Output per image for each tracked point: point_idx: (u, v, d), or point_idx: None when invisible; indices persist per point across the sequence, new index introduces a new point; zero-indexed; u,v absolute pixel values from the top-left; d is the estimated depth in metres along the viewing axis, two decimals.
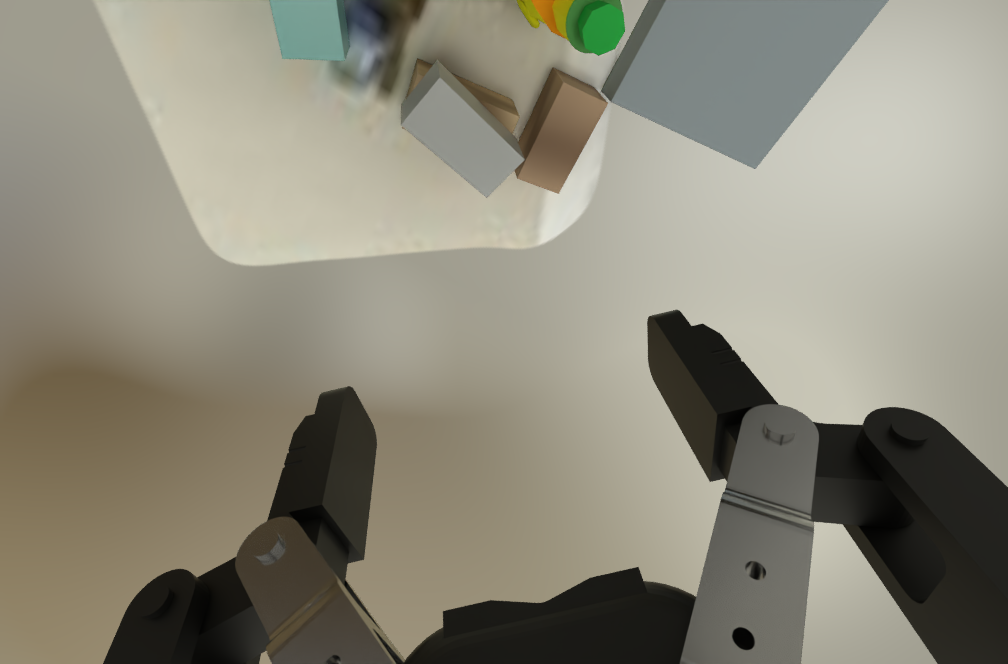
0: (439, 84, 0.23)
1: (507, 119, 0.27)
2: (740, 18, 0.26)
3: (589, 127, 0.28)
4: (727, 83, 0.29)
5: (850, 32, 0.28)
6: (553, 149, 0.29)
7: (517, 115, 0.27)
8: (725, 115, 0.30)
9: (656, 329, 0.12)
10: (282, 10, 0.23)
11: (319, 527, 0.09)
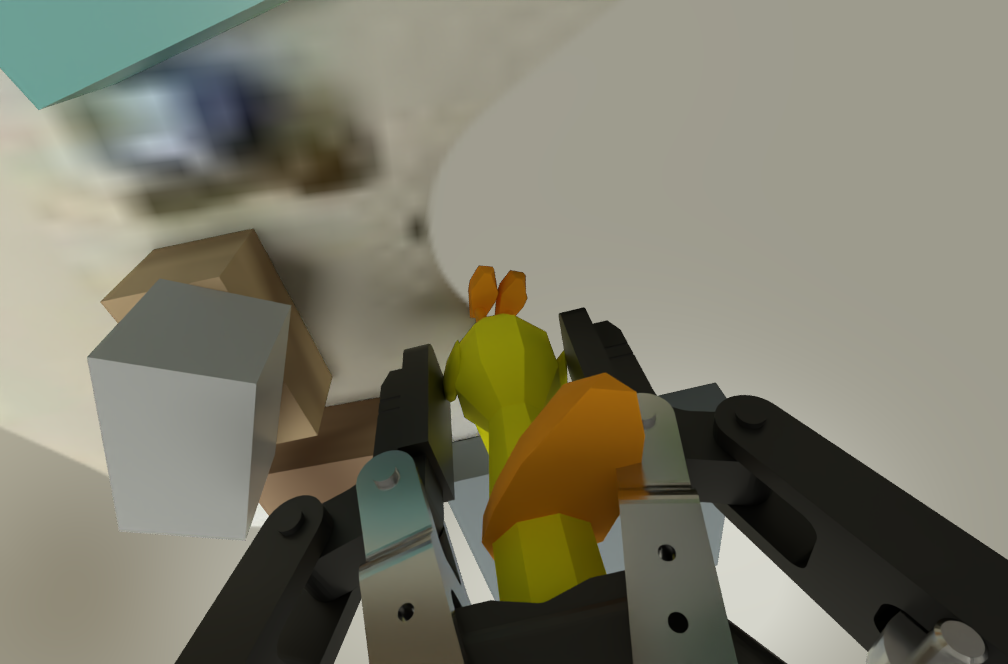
0: (241, 387, 0.10)
1: (298, 425, 0.15)
2: None
3: None
4: None
5: None
6: (327, 488, 0.17)
7: (316, 430, 0.15)
8: None
9: (563, 325, 0.13)
10: None
11: (425, 462, 0.10)
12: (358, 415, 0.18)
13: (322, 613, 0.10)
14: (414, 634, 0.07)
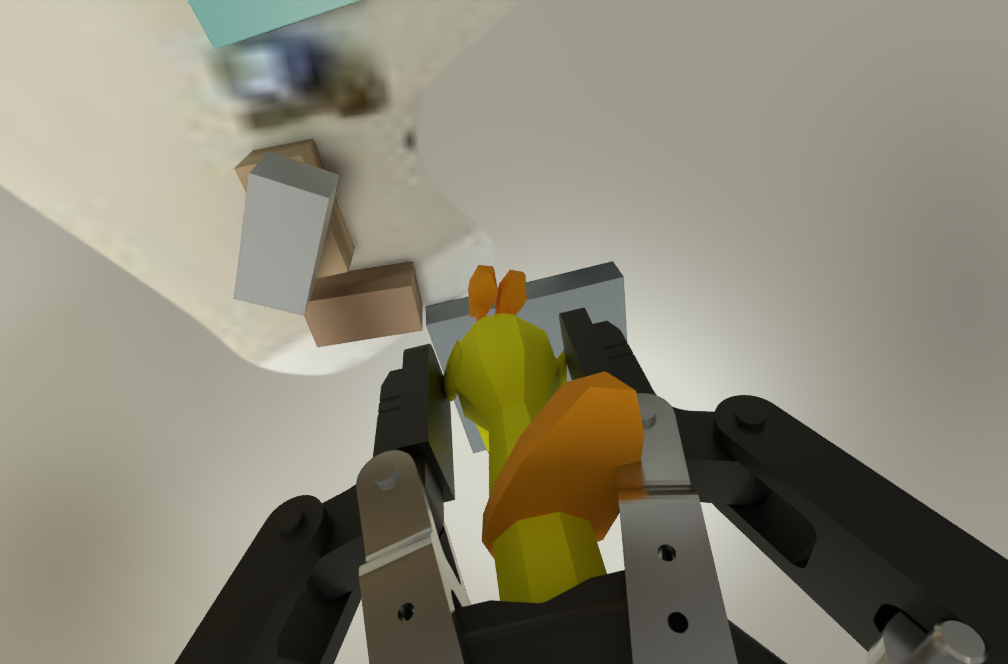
0: (321, 200, 0.20)
1: (336, 263, 0.24)
2: None
3: (393, 330, 0.27)
4: None
5: None
6: (352, 315, 0.26)
7: (347, 268, 0.25)
8: None
9: (563, 325, 0.13)
10: None
11: (425, 462, 0.10)
12: (372, 273, 0.27)
13: (322, 613, 0.10)
14: (414, 634, 0.07)
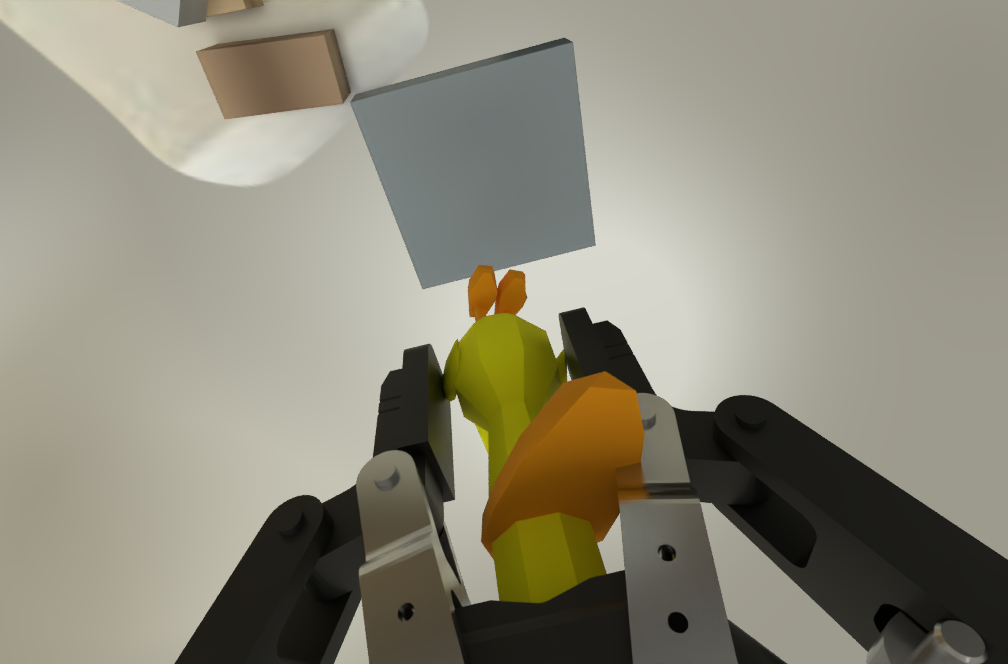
0: None
1: None
2: (487, 155, 0.28)
3: (310, 101, 0.24)
4: (448, 195, 0.29)
5: (541, 248, 0.32)
6: (260, 75, 0.23)
7: (245, 5, 0.22)
8: (430, 219, 0.30)
9: (563, 325, 0.13)
10: None
11: (425, 462, 0.10)
12: (286, 36, 0.24)
13: (321, 613, 0.10)
14: (414, 634, 0.07)
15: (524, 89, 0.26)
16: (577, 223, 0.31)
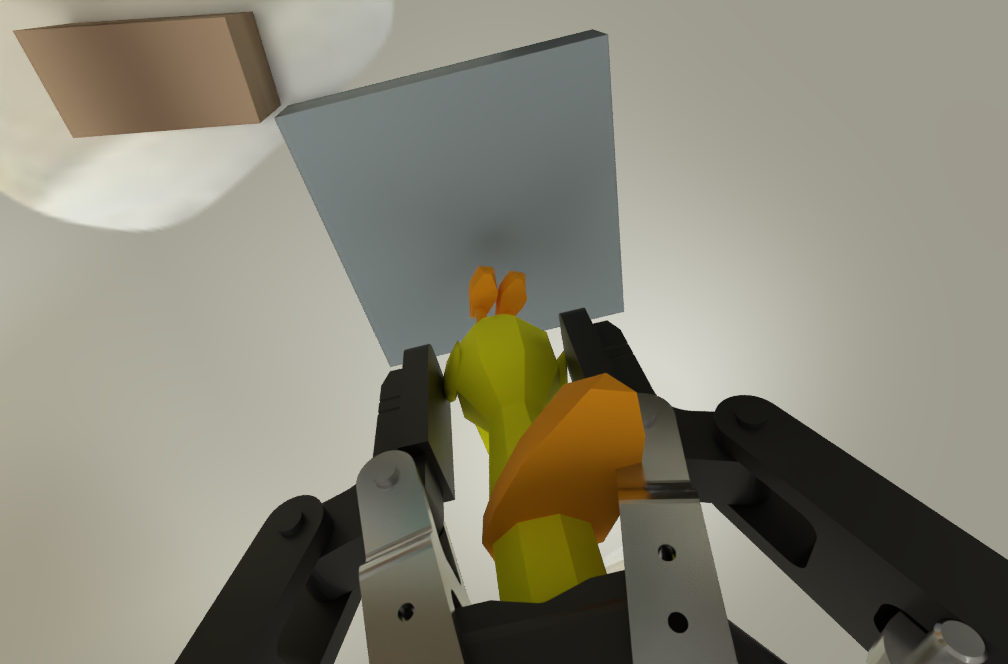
0: None
1: None
2: (479, 195, 0.19)
3: (207, 117, 0.16)
4: (423, 248, 0.20)
5: (552, 316, 0.23)
6: (125, 74, 0.15)
7: None
8: (399, 280, 0.21)
9: (563, 325, 0.13)
10: None
11: (424, 462, 0.10)
12: (175, 17, 0.16)
13: (322, 613, 0.10)
14: (414, 634, 0.07)
15: (534, 102, 0.18)
16: (601, 284, 0.23)
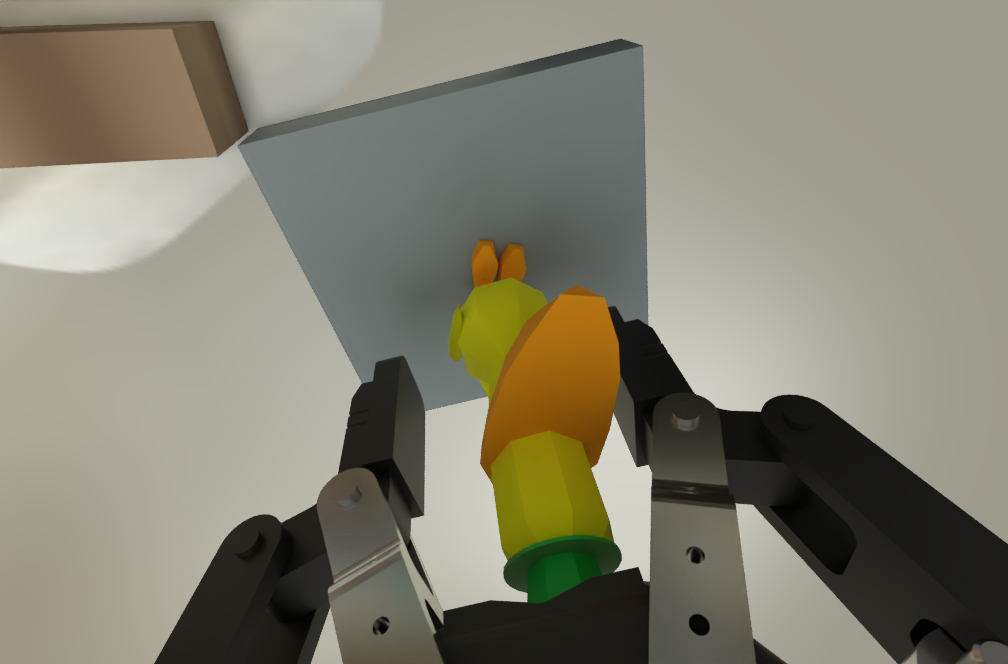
0: None
1: None
2: (485, 233, 0.16)
3: (152, 148, 0.13)
4: (419, 293, 0.18)
5: None
6: (45, 94, 0.12)
7: None
8: (391, 328, 0.18)
9: None
10: None
11: (389, 479, 0.10)
12: (115, 25, 0.13)
13: (287, 634, 0.09)
14: (391, 646, 0.07)
15: (552, 126, 0.15)
16: None
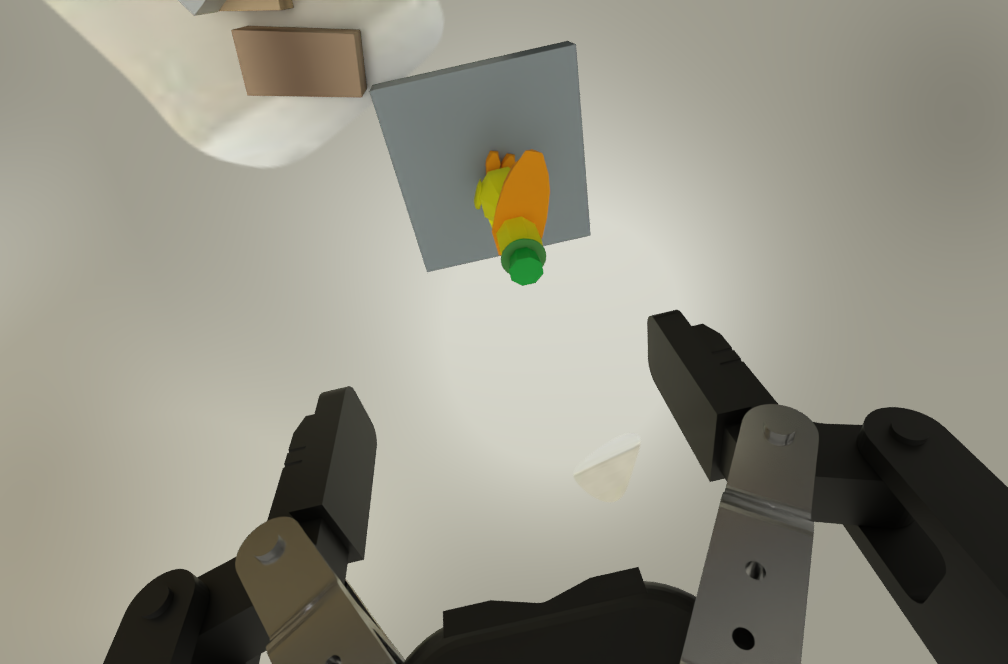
0: None
1: None
2: (494, 146, 0.30)
3: (331, 90, 0.26)
4: (455, 182, 0.31)
5: None
6: (288, 60, 0.25)
7: (280, 7, 0.24)
8: (438, 205, 0.32)
9: (656, 329, 0.12)
10: None
11: (319, 527, 0.09)
12: (316, 29, 0.26)
13: None
14: None
15: (530, 85, 0.28)
16: (574, 213, 0.33)
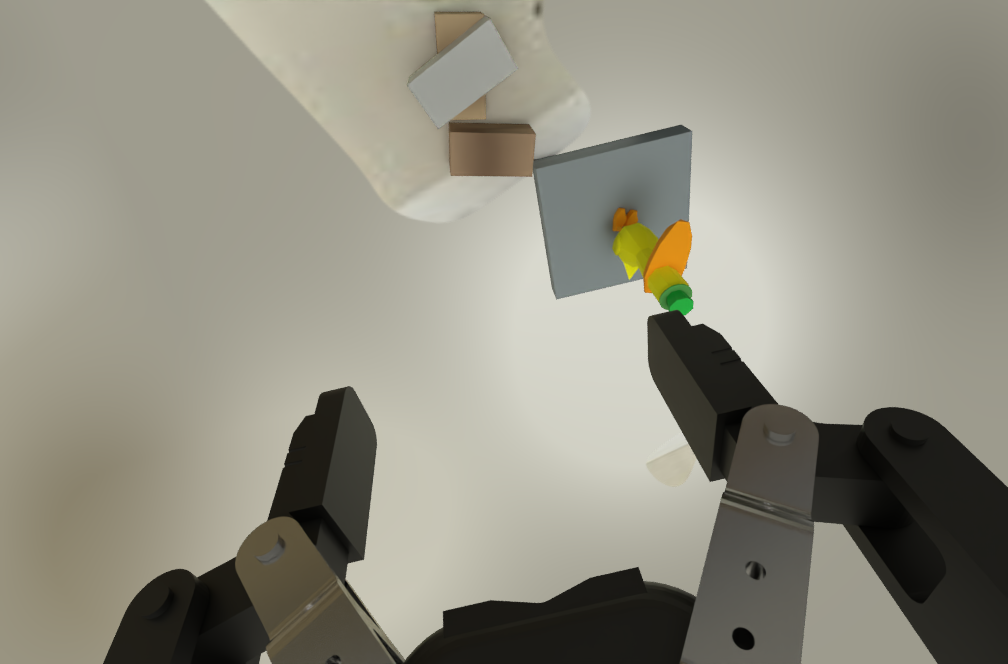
0: (513, 66, 0.28)
1: (480, 110, 0.32)
2: (621, 204, 0.39)
3: (511, 172, 0.35)
4: (588, 231, 0.40)
5: None
6: (485, 152, 0.34)
7: (485, 117, 0.33)
8: (572, 248, 0.40)
9: (656, 329, 0.12)
10: None
11: (319, 527, 0.09)
12: (500, 126, 0.35)
13: None
14: None
15: (654, 161, 0.37)
16: None
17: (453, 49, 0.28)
